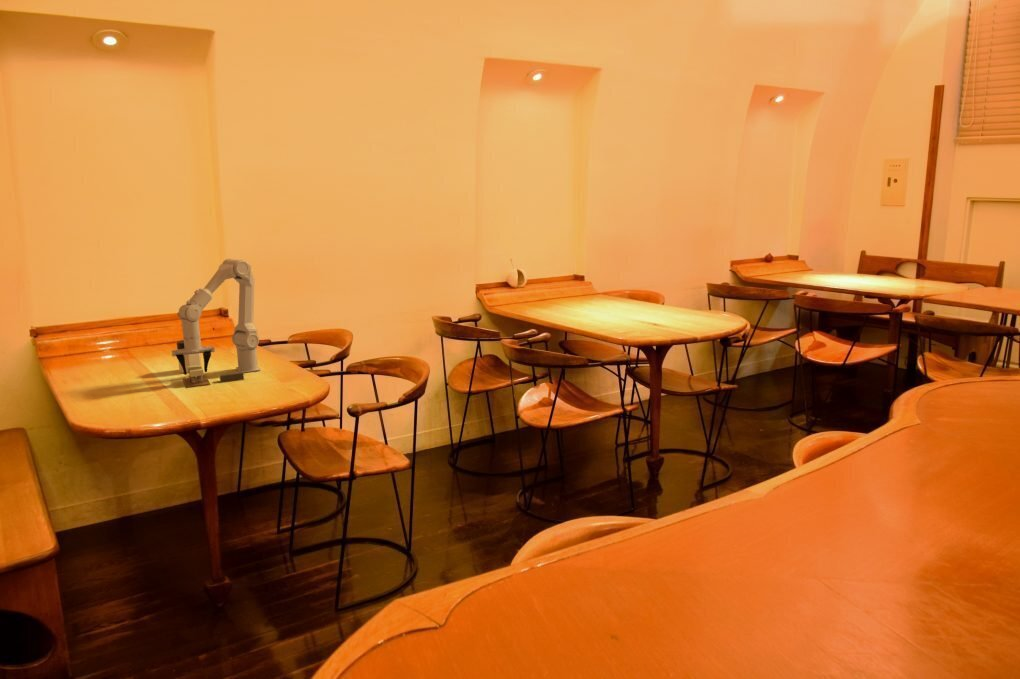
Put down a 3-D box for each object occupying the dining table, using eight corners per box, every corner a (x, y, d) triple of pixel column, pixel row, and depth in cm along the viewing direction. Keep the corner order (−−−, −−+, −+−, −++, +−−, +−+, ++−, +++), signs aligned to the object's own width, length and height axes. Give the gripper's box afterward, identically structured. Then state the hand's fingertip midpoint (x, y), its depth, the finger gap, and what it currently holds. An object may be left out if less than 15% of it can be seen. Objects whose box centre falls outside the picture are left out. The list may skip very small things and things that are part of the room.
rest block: (220, 380, 276) (219, 374, 275) (242, 377, 280) (242, 371, 279) (221, 382, 273) (220, 376, 273) (243, 379, 277) (243, 373, 277)
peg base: (183, 379, 279) (182, 370, 278) (205, 376, 282) (204, 368, 282) (186, 387, 267) (185, 378, 266) (210, 384, 270) (209, 375, 270)
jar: (201, 372, 290) (198, 342, 287) (179, 374, 287) (175, 344, 285) (202, 367, 298) (199, 338, 296) (180, 369, 295) (177, 340, 293)
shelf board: (203, 375, 271) (203, 370, 270) (190, 376, 269) (189, 371, 268) (200, 369, 279) (200, 364, 279) (187, 371, 277) (187, 366, 277)
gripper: (171, 341, 264) (175, 377, 267) (214, 336, 271) (217, 372, 274) (169, 337, 270) (173, 373, 273) (211, 333, 277) (215, 368, 280)
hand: (195, 372), depth 274 cm, fingers open, 6 cm apart
